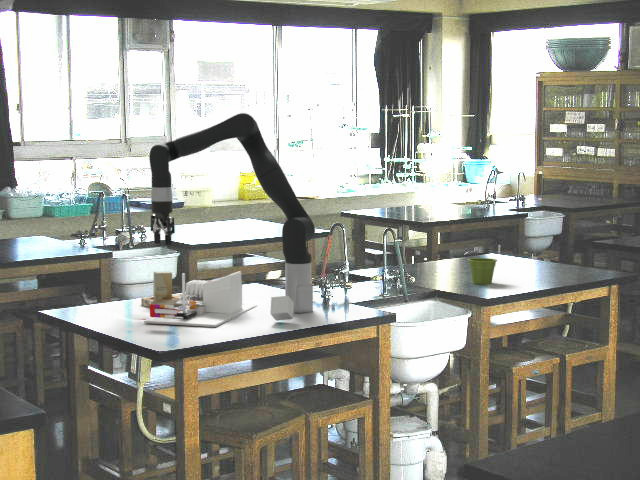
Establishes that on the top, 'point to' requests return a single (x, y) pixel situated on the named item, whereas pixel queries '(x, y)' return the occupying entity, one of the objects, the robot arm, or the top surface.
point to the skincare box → (162, 285)
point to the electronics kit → (204, 303)
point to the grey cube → (282, 308)
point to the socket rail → (162, 301)
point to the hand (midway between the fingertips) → (162, 244)
